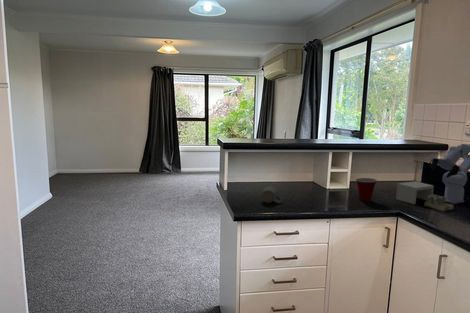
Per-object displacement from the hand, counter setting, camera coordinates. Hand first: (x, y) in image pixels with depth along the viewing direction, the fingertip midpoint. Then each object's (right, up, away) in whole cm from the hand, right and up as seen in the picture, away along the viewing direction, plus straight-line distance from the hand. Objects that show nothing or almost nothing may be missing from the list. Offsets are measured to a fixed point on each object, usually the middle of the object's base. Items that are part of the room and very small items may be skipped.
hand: (439, 172), depth 163 cm
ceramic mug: (-85, -16, +8) cm, 86 cm away
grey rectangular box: (-4, -16, +16) cm, 23 cm away
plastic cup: (-32, -16, +14) cm, 39 cm away
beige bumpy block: (+2, -19, +4) cm, 19 cm away
